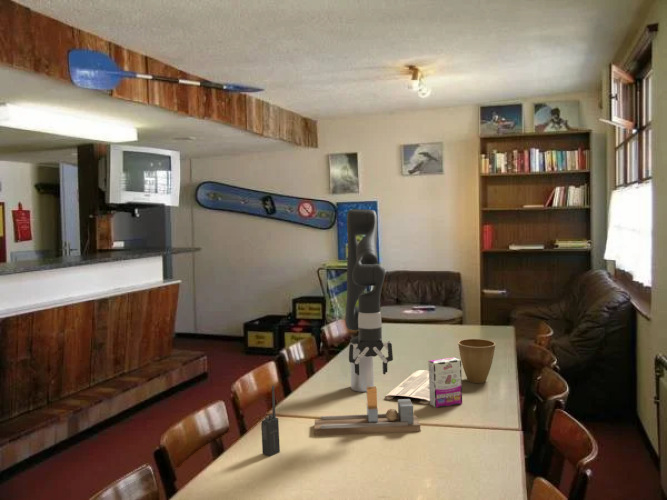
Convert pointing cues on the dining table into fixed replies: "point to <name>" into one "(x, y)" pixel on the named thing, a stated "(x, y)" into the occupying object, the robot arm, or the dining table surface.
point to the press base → (361, 425)
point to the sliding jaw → (372, 405)
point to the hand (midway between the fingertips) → (371, 374)
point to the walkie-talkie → (270, 432)
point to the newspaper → (413, 387)
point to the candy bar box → (445, 382)
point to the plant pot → (476, 358)
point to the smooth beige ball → (392, 415)
